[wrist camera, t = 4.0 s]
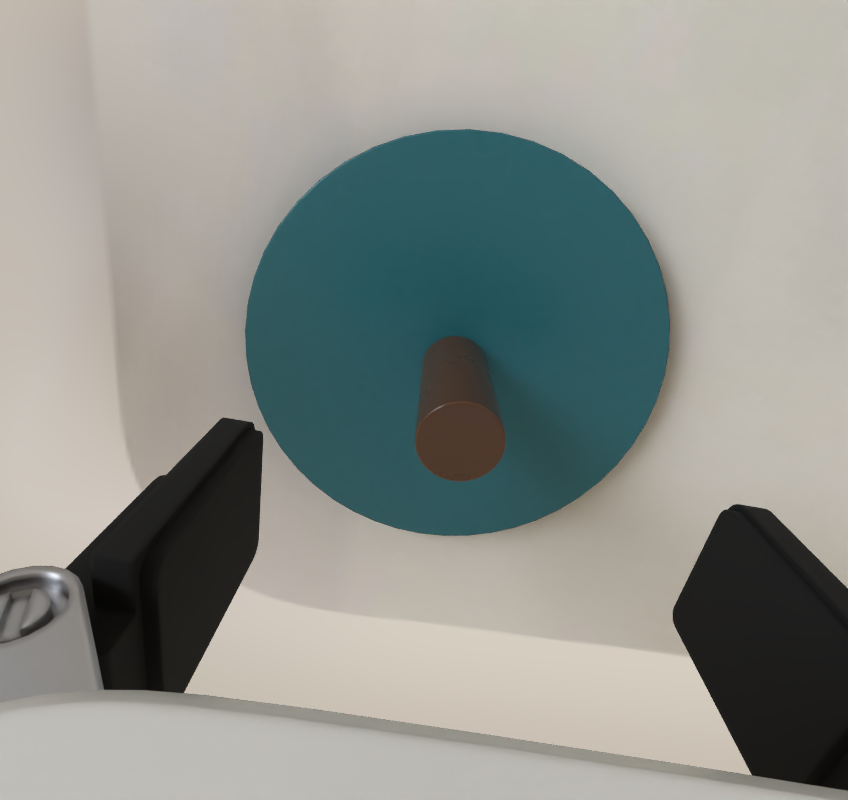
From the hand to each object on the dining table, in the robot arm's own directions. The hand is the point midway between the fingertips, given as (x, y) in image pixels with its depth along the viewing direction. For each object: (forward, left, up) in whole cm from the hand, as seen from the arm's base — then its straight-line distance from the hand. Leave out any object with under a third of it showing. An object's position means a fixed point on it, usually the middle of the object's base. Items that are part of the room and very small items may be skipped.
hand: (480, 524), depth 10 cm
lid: (0, 0, -10) cm, 10 cm away
